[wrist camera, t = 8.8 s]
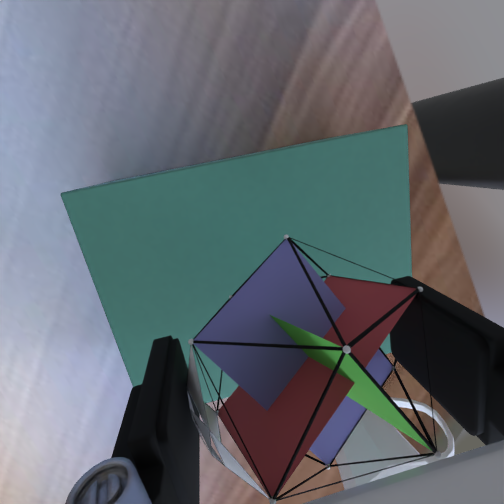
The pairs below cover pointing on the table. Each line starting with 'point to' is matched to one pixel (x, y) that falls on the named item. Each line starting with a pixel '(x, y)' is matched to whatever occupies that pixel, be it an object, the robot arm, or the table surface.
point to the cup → (383, 447)
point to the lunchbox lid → (239, 234)
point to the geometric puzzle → (300, 367)
